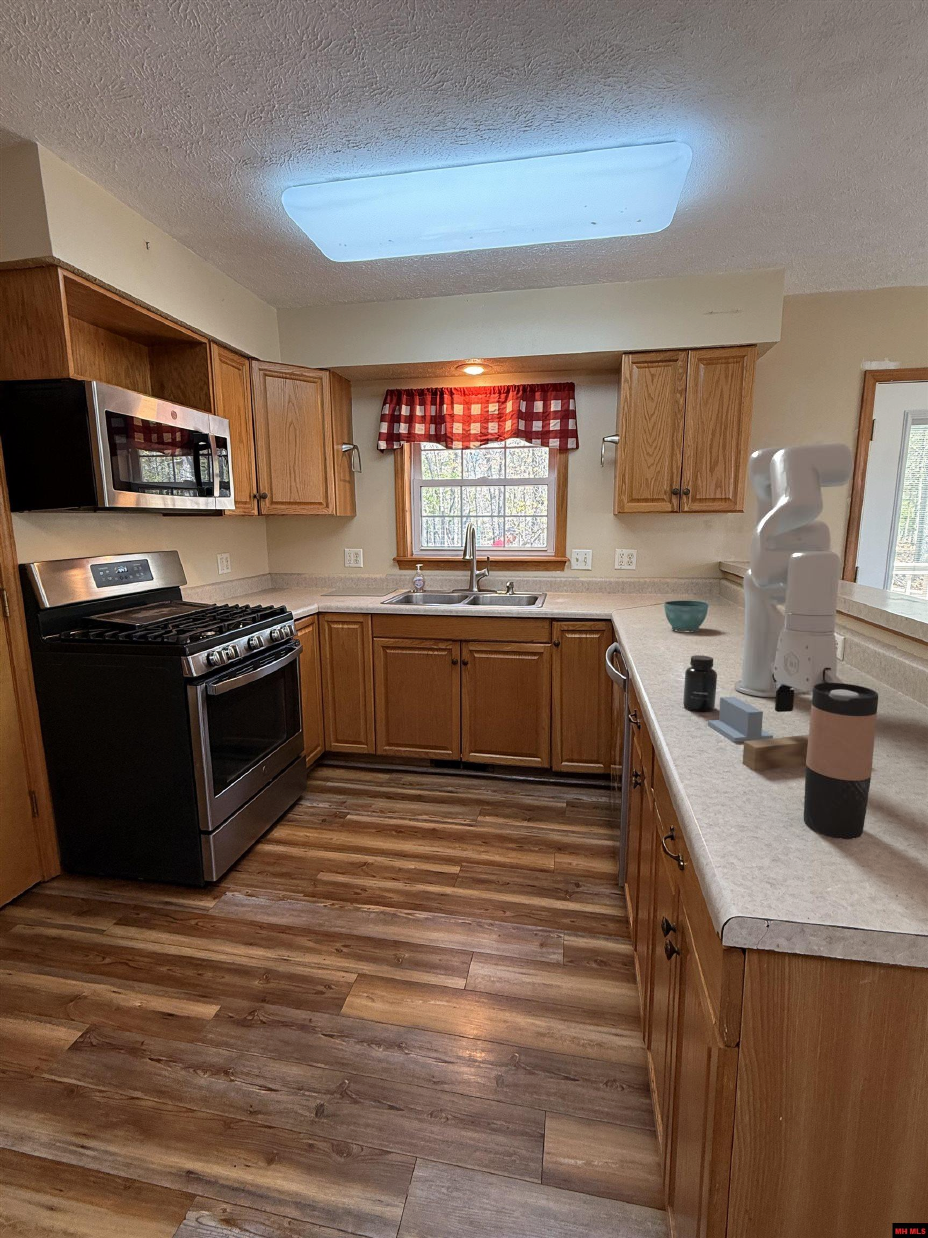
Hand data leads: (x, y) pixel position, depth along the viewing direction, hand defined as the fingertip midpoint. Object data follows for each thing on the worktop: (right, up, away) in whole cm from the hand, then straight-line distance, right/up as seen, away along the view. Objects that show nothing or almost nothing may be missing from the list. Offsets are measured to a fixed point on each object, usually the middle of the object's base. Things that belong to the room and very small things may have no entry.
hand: (801, 719), depth 102 cm
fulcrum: (-3, -5, +16) cm, 18 cm away
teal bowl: (+27, +13, +124) cm, 127 cm away
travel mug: (-7, -12, -20) cm, 24 cm away
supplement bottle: (-5, -3, +32) cm, 33 cm away
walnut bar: (0, -8, +2) cm, 8 cm away
